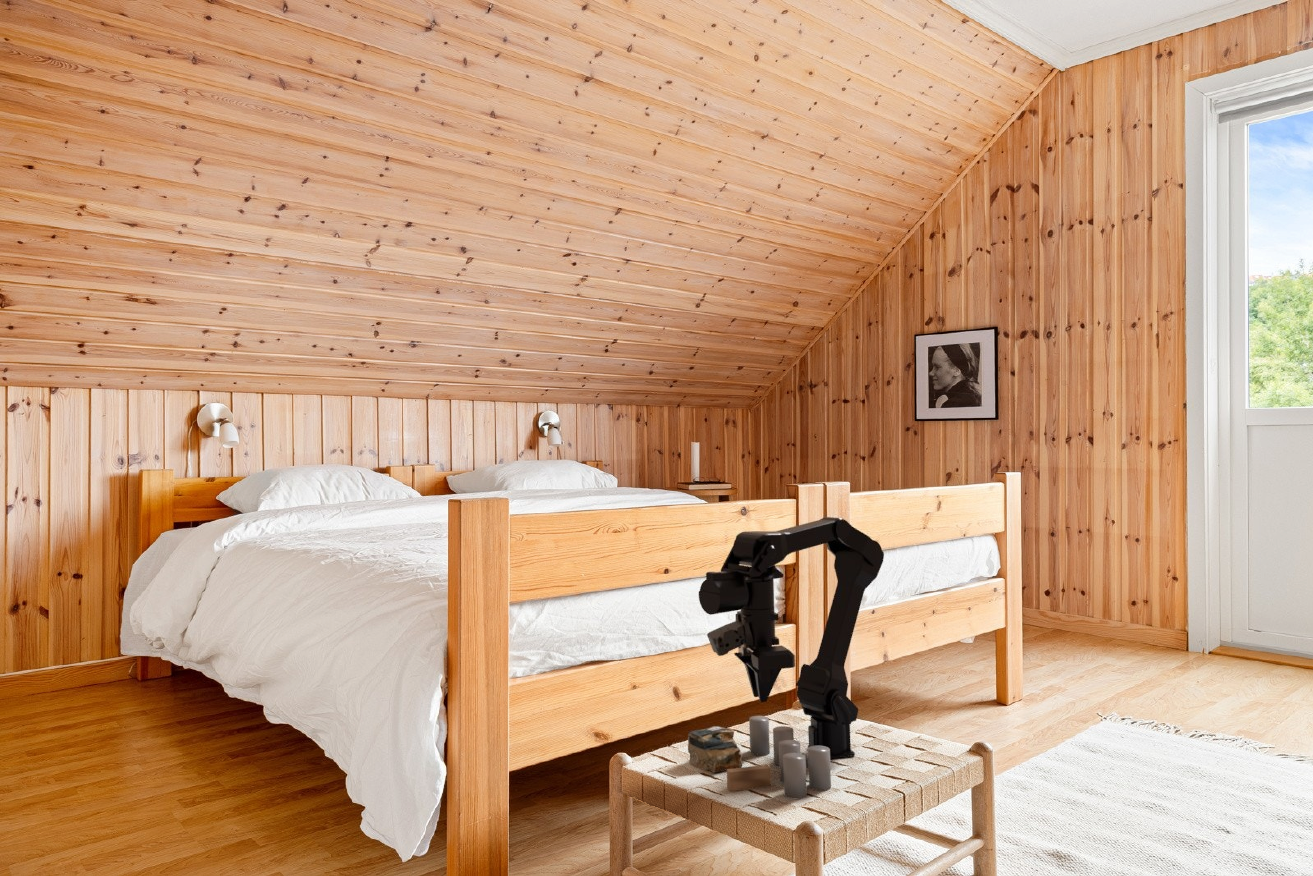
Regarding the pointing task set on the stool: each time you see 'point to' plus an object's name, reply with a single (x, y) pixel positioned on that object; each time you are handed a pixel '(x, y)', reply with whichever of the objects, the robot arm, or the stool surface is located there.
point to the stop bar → (748, 777)
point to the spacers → (791, 758)
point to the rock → (714, 749)
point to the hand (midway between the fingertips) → (760, 699)
